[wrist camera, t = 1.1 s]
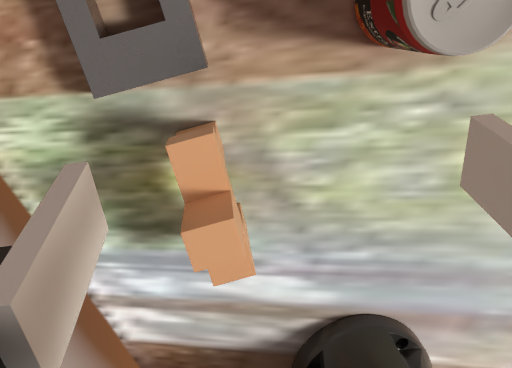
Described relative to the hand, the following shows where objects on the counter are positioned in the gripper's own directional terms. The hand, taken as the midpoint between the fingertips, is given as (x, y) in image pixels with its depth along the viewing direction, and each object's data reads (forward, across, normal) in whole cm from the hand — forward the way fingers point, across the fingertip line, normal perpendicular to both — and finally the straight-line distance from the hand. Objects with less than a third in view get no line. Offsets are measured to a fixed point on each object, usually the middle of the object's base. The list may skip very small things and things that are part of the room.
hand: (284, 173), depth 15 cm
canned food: (+25, -13, -2) cm, 28 cm away
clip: (+22, +4, +12) cm, 25 cm away
